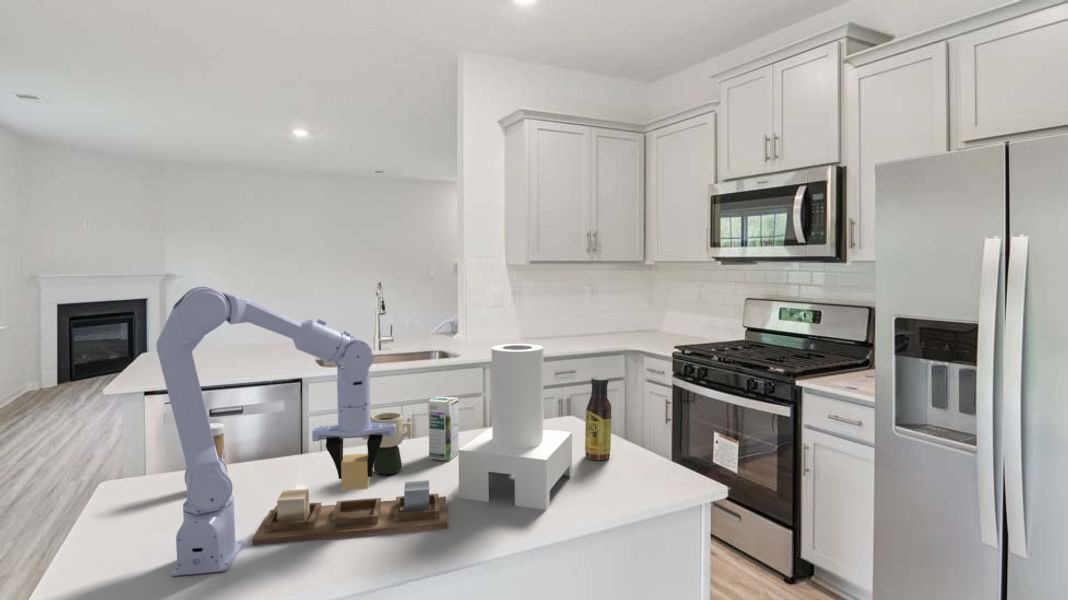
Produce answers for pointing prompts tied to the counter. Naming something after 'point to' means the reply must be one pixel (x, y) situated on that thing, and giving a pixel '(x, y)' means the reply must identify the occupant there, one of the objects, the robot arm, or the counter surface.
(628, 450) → the counter surface
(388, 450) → the character mug
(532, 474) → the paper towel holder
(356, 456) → the ochre block
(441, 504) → the puzzle board
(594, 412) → the sauce bottle
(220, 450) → the sprinkles bottle
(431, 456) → the syrup box
